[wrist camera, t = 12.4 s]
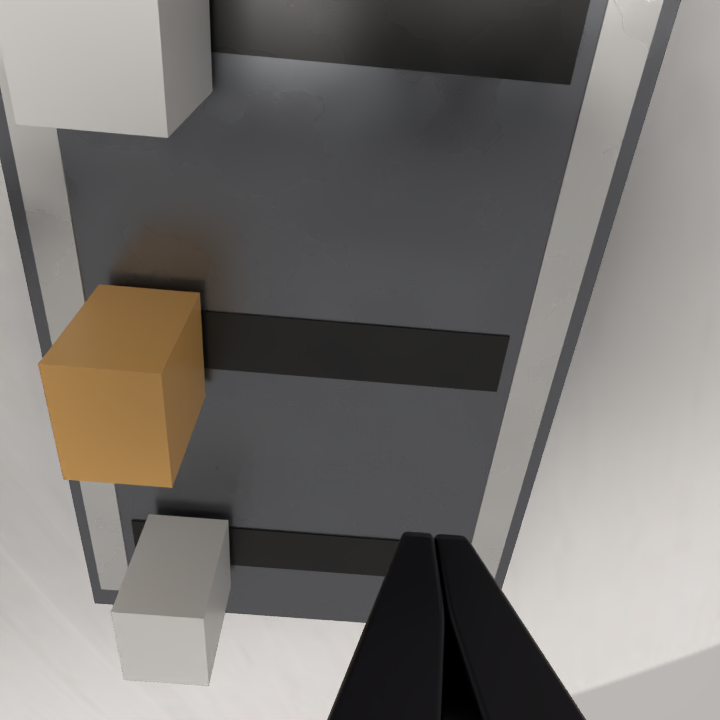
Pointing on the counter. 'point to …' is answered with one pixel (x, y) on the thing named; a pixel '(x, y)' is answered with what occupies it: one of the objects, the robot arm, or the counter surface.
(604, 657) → the counter surface
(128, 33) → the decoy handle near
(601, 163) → the panel
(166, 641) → the grey small block
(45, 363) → the orange block
